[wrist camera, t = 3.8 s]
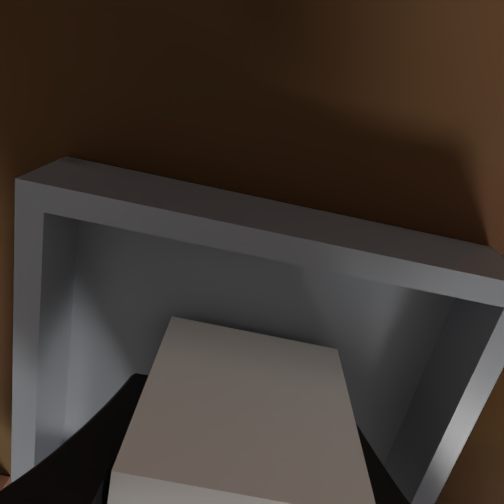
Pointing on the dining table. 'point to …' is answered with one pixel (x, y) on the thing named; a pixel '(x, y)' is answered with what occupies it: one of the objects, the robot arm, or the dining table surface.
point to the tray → (246, 306)
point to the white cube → (241, 424)
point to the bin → (4, 481)
